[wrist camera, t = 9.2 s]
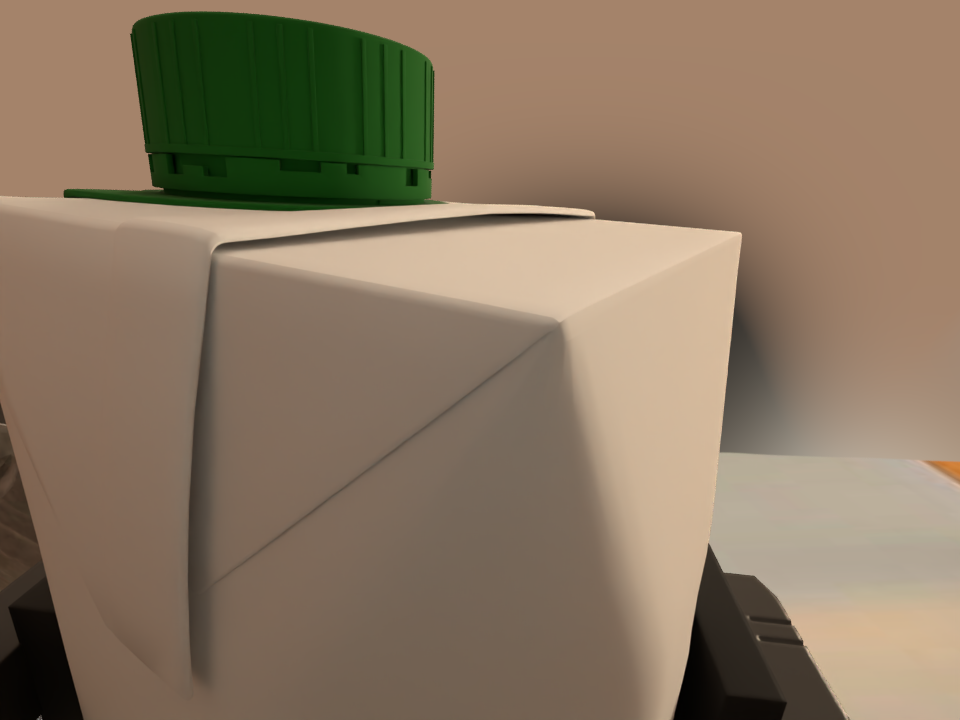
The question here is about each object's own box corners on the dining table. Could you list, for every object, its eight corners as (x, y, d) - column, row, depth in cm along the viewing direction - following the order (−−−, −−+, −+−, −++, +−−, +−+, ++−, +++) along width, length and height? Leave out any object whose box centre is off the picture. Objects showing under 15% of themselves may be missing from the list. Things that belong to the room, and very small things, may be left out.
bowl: (23, 503, 37) (-31, 299, 32) (314, 451, 47) (307, 287, 42) (-103, 787, 21) (-254, 454, 16) (391, 615, 30) (394, 375, 25)
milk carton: (384, 716, 19) (378, 103, 12) (634, 894, 14) (832, 89, 8) (119, 1037, 12) (-237, -33, 5) (457, 1582, 7) (1029, -1017, 1)
